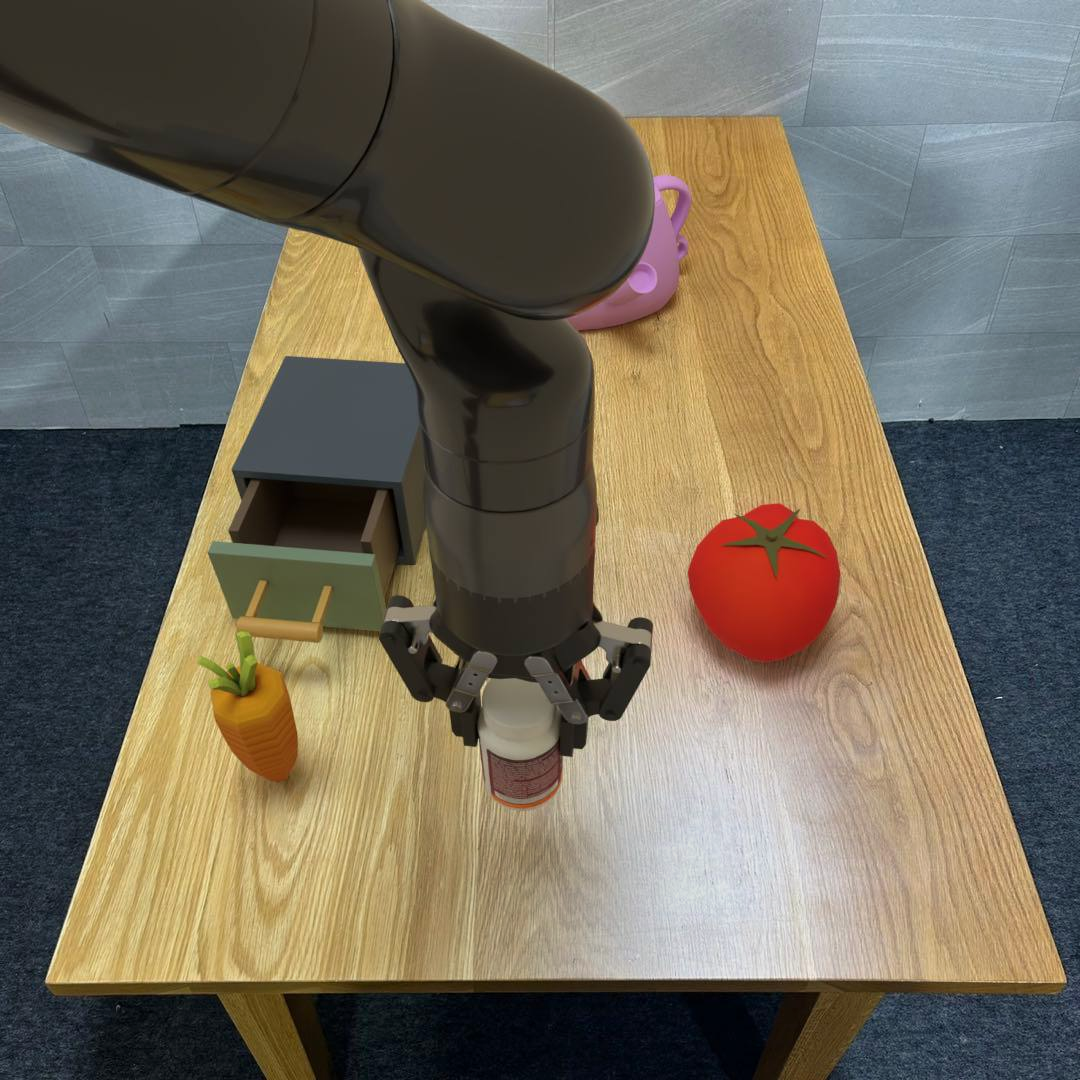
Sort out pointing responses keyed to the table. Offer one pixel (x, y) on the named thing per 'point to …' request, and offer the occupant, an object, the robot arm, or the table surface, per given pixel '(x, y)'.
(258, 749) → the carrot
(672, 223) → the teapot
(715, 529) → the tomato
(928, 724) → the table surface
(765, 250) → the table surface
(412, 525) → the cabinet
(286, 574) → the drawer
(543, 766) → the pill bottle
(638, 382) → the table surface
